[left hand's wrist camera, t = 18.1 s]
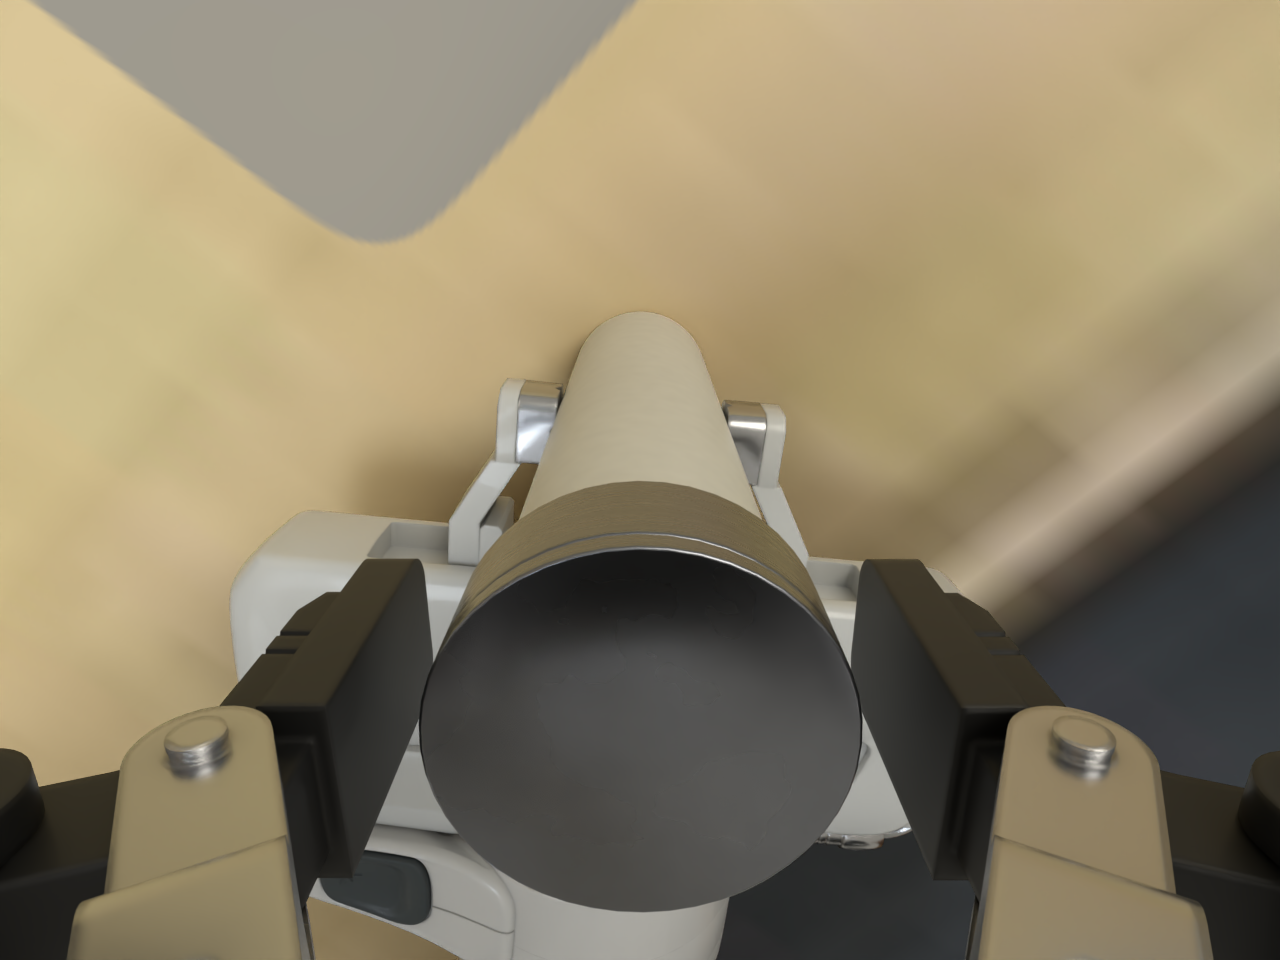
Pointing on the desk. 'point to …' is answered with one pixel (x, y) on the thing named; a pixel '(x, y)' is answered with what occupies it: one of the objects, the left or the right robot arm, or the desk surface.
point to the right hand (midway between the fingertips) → (642, 395)
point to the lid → (640, 702)
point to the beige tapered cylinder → (640, 417)
